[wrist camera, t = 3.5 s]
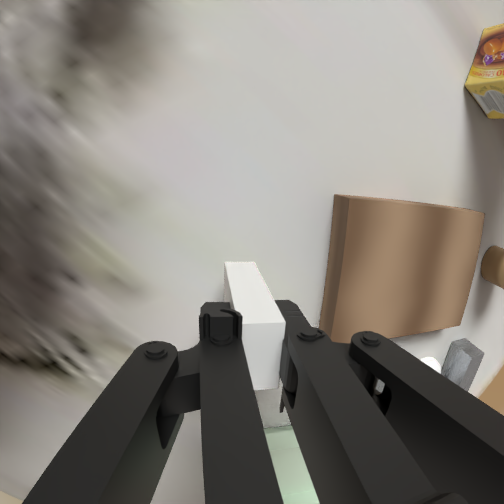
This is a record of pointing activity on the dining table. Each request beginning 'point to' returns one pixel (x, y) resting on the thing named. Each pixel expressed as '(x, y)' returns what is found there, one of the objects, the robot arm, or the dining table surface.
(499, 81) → the candy box
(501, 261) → the cylinder
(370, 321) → the tan slab
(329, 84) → the dining table surface
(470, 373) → the clamp jaws
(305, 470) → the tray
